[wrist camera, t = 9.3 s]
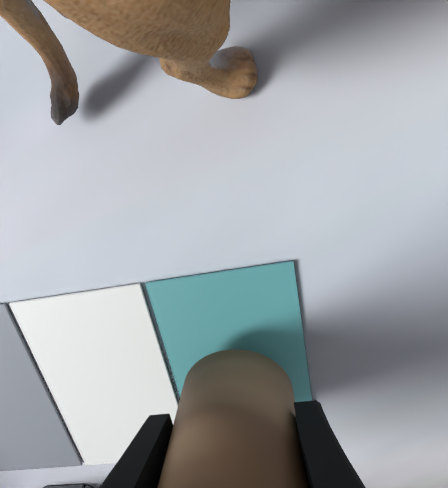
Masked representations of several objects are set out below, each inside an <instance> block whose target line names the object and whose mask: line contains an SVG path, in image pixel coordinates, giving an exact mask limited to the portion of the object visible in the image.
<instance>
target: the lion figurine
mask: <svg viewBox="0 0 448 488" xmlns="http://www.w3.org/2000/svg"><path fill="white" fill-rule="evenodd" d="M44 1H45V2H46V3H48V4H49V5H50V6H52V7H53V8H54V9H56V10H57V11H58V12H59V13H60V14H61V15H62V16H64V17H65V18H68V19H71V20H72V21H73V22H75V23H76V24H78V25H79V26H81V27H83V28H84V29H86V30H87V31H89V32H91V33H92V34H94V35H96V36H97V37H99V38H101V39H103V40H105V41H107V42H109V43H111V44H113V45H115V46H117V47H119V48H123V49H126V50H129V51H132V52H135V53H139V54H144V55H148V56H153V57H158V58H159V60H160V65H161V68H162V69H163V70H164V72H165V73H167V74H168V75H170V76H173V77H175V78H177V79H180V80H183V81H186V82H190V83H194V84H197V85H200V86H202V87H204V88H205V89H207V90H209V91H210V92H212V93H214V94H217V95H219V96H222V97H227V98H231V99H240V98H244V97H246V96H248V95H249V94H250V93H251V91H252V90H253V89H254V87H255V85H256V83H257V80H258V77H257V68H256V64H255V61H254V59H253V56H252V54H251V52H250V51H249V50H248V49H246V48H242V47H230V48H225V49H222V50H218V49H219V48H220V47H221V46H222V45H223V43H224V41H225V40H226V38H227V35H228V32H229V28H230V16H229V9H230V0H44ZM0 16H1V17H3V18H4V19H5V20H6V21H7V22H8V23H9V24H10V25H11V26H12V27H13V28H14V29H15V30H16V31H17V32H18V33H19V34H20V35H21V36H22V37H23V38H24V39H25V40H27V41H28V42H29V43H30V44H31V45H32V46H33V47H34V49H35V50H36V51H37V52H38V53H39V55H40V56H41V57H42V59H43V61H44V63H45V65H46V67H47V70H48V72H49V75H50V78H51V84H52V88H51V93H50V98H51V104H52V106H51V118H52V119H53V121H54V122H55V123H56V124H57V125H61V124H62V122H63V121H64V120H65V119H67V118H68V117H69V116H71V115H73V114H74V113H75V112H76V110H77V108H78V101H79V92H78V84H77V77H76V74H75V72H74V70H73V68H72V66H71V64H70V62H69V60H68V58H67V55H66V53H65V51H64V49H63V47H62V45H61V43H60V42H59V40H58V39H57V37H56V35H55V34H54V33H53V31H52V30H51V28H50V26H49V25H48V23H47V21H46V20H45V18H44V16H43V15H42V13H41V12H40V11H39V10H38V8H37V7H36V6H35V5H34V3H33V2H32V1H31V0H0ZM217 50H218V51H217Z"/></svg>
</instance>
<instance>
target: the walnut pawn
mask: <svg viewBox="0 0 448 488" xmlns="http://www.w3.org/2000/svg"><path fill="white" fill-rule="evenodd" d="M294 402H295V398H294V392H293V387H292V383H291V381H290V378H289V377H288V375H287V373H286V372H285V371H284V370H283V368H282V367H280V366H279V365H278V364H277V363H276V362H274V361H273V360H272V359H270V358H268V357H266V356H264V355H262V354H259V353H256V352H253V351H248V350H241V349H229V350H222V351H218V352H214V353H212V354H209V355H207V356H205V357H203V358H202V359H200V360H199V361H198V362H196V363H195V364H194V365H193V366H192V367H191V369H190V370H189V372H188V373H187V375H186V378H185V381H184V384H183V388H182V392H181V396H180V400H179V404H178V408H177V412H176V416H175V420H174V424H173V428H172V432H171V436H170V440H169V444H168V448H167V452H166V456H165V460H164V464H163V468H162V472H161V476H160V480H159V483H158V487H157V488H309V483H308V478H307V474H306V470H305V465H304V461H303V457H302V452H301V446H300V440H299V434H298V427H297V421H296V415H295V409H294Z"/></svg>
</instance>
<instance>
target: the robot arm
mask: <svg viewBox="0 0 448 488" xmlns="http://www.w3.org/2000/svg"><path fill="white" fill-rule="evenodd" d="M294 409H295V415H296V421H297V427H298V434H299V440H300V446H301V452H302V457H303V461H304V465H305V470H306V474H307V478H308V483H309V488H365V486H364V484H363V483H362V481H361V480H360V478H359V476H358V475H357V473H356V471H355V470H354V468H353V466H352V465H351V463H350V462H349V460H348V458H347V456H346V455H345V453H344V451H343V449H342V448H341V446H340V444H339V442H338V440H337V438H336V437H335V435H334V433H333V431H332V429H331V427H330V425H329V423H328V421H327V418H326V416H325V414H324V412H323V409H322V406H321V404H320V403H319V402H318V401H316V400H314V401H303V402H294ZM172 428H173V423H172V420H171V417H170V414H157V415H149V417H148V418H147V419H146V421H145V422H144V424H143V425H142V427H141V428H140V430H139V431H138V433H137V434H136V435H135V437H134V438H133V440H132V441H131V443H130V444H129V446H128V447H127V449H126V450H125V452H124V453H123V455H122V456H121V458H120V459H119V461H118V462H117V463H116V465H115V466H114V468H113V469H112V471H111V472H110V473H109V475H108V476H107V478H106V479H105V480H104V482H103V483H102V485H101V486H100V487H99V488H157V487H158V483H159V480H160V476H161V472H162V468H163V464H164V460H165V456H166V452H167V448H168V444H169V440H170V436H171V432H172Z"/></svg>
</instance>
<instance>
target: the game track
mask: <svg viewBox="0 0 448 488" xmlns="http://www.w3.org/2000/svg"><path fill="white" fill-rule="evenodd" d="M145 285H146V288H147V291H148V294H149V298H150V301H151V304H152V307H153V311H154V314H155V317H156V320H157V324H158V327H159V330H160V333H161V337H162V340H163V343H164V346H165V350H166V353H167V356H168V359H169V363H170V366H171V369H172V372H173V376H174V379H175V382H176V385H177V389H178V392H179V395H180V396H181V392H182V388H183V384H184V381H185V378H186V375H187V373H188V372H189V370H190V369H191V367H192V366H193V365H194V364H195V363H196V362H198V361H199V360H200V359H202V358H203V357H205V356H207V355H209V354H212V353H214V352H218V351H222V350H229V349H241V350H248V351H253V352H256V353H259V354H262V355H264V356H266V357H268V358H270V359H272V360H273V361H274V362H276V363H277V364H278V365H279V366H280V367H282V368H283V370H284V371H285V372H286V373H287V375H288V377H289V378H290V381H291V383H292V387H293V392H294V398H295V402H303V401H312V396H311V388H310V381H309V373H308V366H307V359H306V351H305V344H304V336H303V329H302V321H301V314H300V307H299V299H298V292H297V284H296V277H295V269H294V262H293V261H286V262H279V263H273V264H266V265H259V266H252V267H246V268H239V269H232V270H225V271H219V272H212V273H205V274H198V275H192V276H185V277H178V278H171V279H165V280H158V281H151V282H146V283H145ZM9 305H10V307H11V309H12V311H13V313H14V316H15V318H16V320H17V322H18V324H19V326H20V328H21V330H22V332H23V334H24V337H25V339H26V341H27V343H28V345H29V347H30V349H31V351H32V353H33V355H34V358H35V360H36V362H37V364H38V366H39V368H40V370H41V372H42V374H43V376H44V379H45V381H46V383H47V385H48V387H49V389H50V391H51V393H52V395H53V397H54V400H55V402H56V404H57V406H58V408H59V410H60V412H61V414H62V416H63V419H64V421H65V423H66V425H67V427H68V429H69V431H70V433H71V435H72V437H73V440H74V442H75V444H76V446H77V448H78V450H79V452H80V454H81V456H82V458H83V461H84V463H85V465H96V464H111V463H117V462H118V461H119V459H120V458H121V456H122V455H123V453H124V452H125V450H126V449H127V447H128V446H129V444H130V443H131V441H132V440H133V438H134V437H135V435H136V434H137V433H138V431H139V430H140V428H141V427H142V425H143V424H144V422H145V421H146V419H147V418H148V417H149V415H157V414H170V417H171V420H172V423H173V424H174V420H175V416H176V412H177V408H178V402H177V398H176V395H175V392H174V389H173V386H172V382H171V379H170V376H169V373H168V370H167V366H166V363H165V360H164V357H163V354H162V351H161V347H160V344H159V341H158V338H157V335H156V331H155V328H154V325H153V322H152V319H151V315H150V312H149V309H148V306H147V303H146V300H145V296H144V293H143V290H142V287H141V284H140V283H138V284H131V285H124V286H117V287H111V288H104V289H97V290H90V291H84V292H77V293H70V294H63V295H57V296H50V297H43V298H36V299H30V300H23V301H16V302H11V303H9ZM81 465H82V461H81V459H80V457H79V455H78V453H77V451H76V448H75V446H74V444H73V442H72V440H71V438H70V436H69V434H68V432H67V430H66V428H65V426H64V423H63V421H62V419H61V417H60V415H59V413H58V411H57V409H56V407H55V405H54V403H53V400H52V398H51V396H50V394H49V392H48V390H47V388H46V386H45V384H44V382H43V380H42V377H41V375H40V373H39V371H38V369H37V367H36V365H35V363H34V361H33V359H32V357H31V355H30V352H29V350H28V348H27V346H26V344H25V342H24V340H23V338H22V336H21V334H20V332H19V329H18V327H17V325H16V323H15V321H14V319H13V317H12V315H11V313H10V311H9V309H8V307H7V304H6V303H3V304H0V471H10V470H24V469H39V468H53V467H67V466H81Z"/></svg>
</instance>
